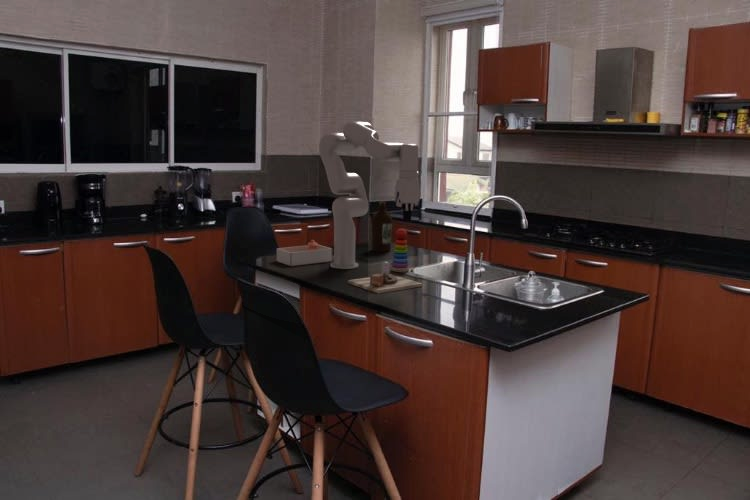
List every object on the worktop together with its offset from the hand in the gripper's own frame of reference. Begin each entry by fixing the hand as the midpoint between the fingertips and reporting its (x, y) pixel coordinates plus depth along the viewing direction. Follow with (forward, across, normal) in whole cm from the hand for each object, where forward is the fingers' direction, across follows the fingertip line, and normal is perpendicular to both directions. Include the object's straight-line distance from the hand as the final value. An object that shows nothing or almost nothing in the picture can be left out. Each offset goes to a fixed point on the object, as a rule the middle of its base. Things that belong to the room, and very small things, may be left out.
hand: (406, 220), depth 268 cm
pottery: (+26, +16, -56) cm, 63 cm away
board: (+25, +12, +2) cm, 28 cm away
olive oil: (+25, -33, -60) cm, 73 cm away
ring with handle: (+24, +14, +3) cm, 28 cm away
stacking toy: (+25, -10, -16) cm, 32 cm away
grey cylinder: (+24, +15, +2) cm, 28 cm away
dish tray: (+25, +15, -56) cm, 63 cm away
